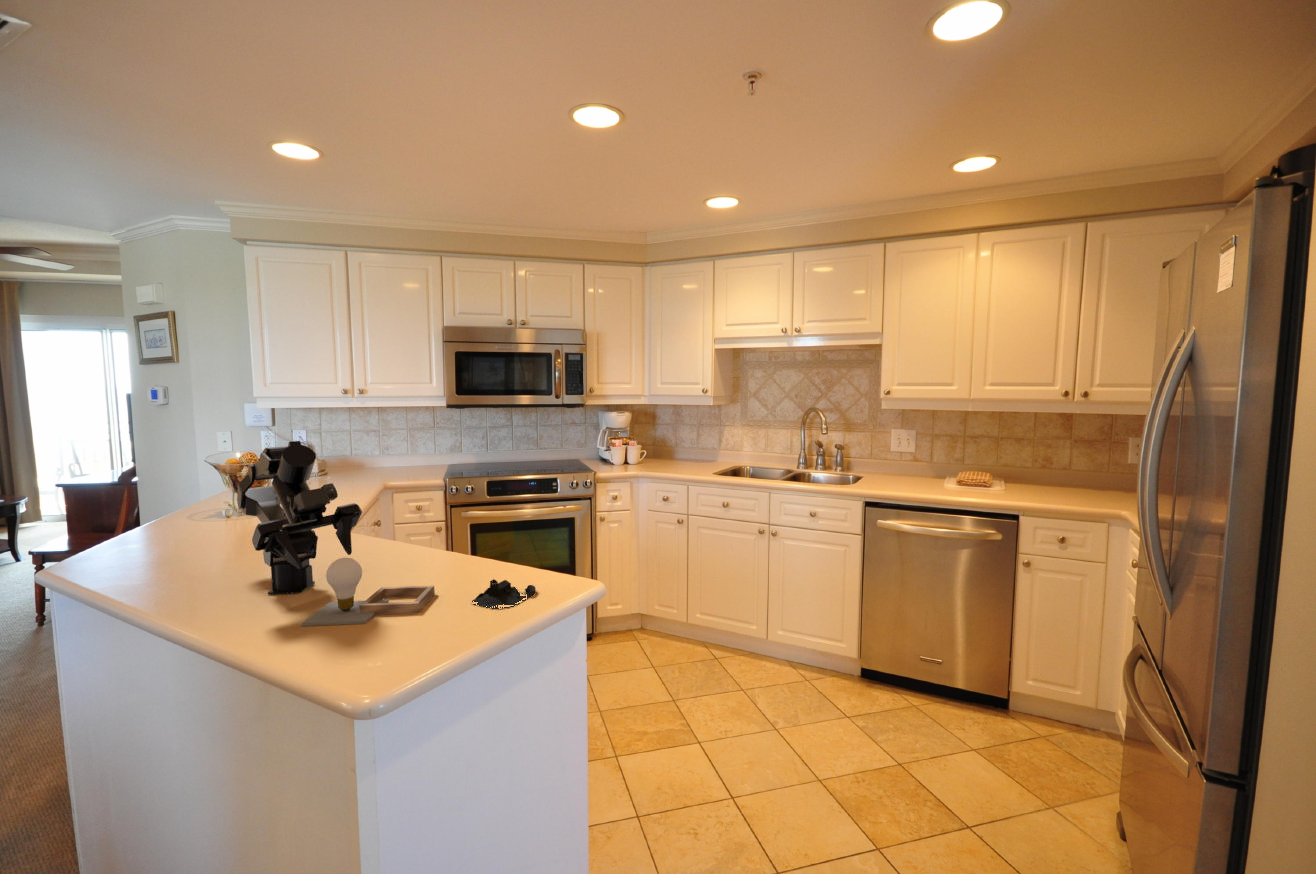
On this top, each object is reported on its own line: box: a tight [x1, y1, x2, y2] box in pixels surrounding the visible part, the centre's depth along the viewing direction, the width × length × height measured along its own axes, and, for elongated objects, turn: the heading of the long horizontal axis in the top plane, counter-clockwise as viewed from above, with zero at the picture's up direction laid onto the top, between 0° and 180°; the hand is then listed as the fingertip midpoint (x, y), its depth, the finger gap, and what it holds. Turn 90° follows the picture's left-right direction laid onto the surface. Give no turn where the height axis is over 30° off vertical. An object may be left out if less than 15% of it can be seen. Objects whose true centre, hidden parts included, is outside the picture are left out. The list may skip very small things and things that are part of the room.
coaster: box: [300, 599, 390, 627], centre depth 111 cm, size 11×11×1 cm
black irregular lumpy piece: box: [472, 578, 536, 610], centre depth 118 cm, size 12×10×5 cm
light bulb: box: [325, 557, 363, 611], centre depth 110 cm, size 6×6×10 cm
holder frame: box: [359, 584, 436, 616], centre depth 115 cm, size 10×10×2 cm
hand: (326, 560), depth 115 cm, fingers open, 9 cm apart
